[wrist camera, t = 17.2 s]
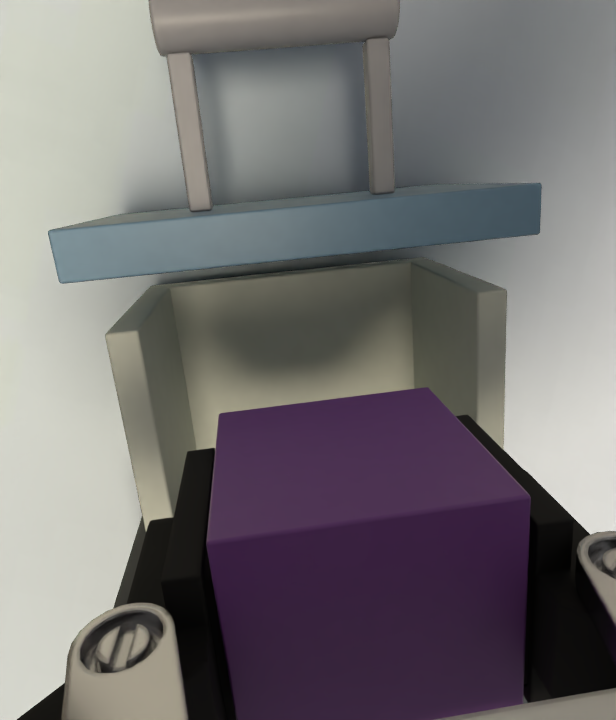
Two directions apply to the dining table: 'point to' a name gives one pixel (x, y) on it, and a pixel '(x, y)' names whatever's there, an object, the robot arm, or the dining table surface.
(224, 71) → the dining table surface
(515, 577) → the cube
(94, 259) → the drawer
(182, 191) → the dining table surface
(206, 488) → the robot arm
